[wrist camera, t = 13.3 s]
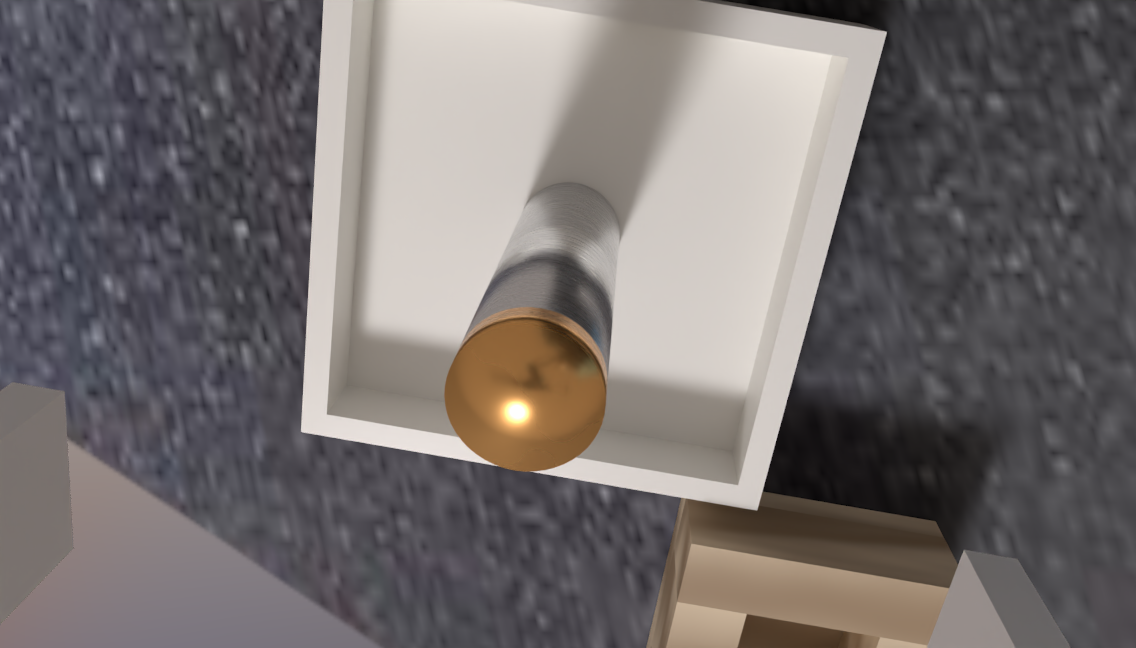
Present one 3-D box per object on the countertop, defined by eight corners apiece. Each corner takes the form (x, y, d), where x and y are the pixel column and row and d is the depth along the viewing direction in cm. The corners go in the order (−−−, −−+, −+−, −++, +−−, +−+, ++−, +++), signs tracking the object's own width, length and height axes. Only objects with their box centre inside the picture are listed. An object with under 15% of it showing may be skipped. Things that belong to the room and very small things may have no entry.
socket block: (685, 478, 33) (691, 543, 30) (935, 521, 33) (972, 592, 30) (640, 673, 37) (640, 754, 33) (866, 713, 37) (892, 798, 33)
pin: (526, 174, 29) (453, 312, 18) (628, 191, 29) (618, 340, 18) (512, 271, 30) (436, 456, 19) (610, 287, 30) (591, 483, 19)
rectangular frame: (358, -60, 28) (326, -62, 25) (862, 23, 27) (887, 31, 25) (329, 391, 33) (301, 432, 30) (747, 463, 33) (757, 510, 30)
